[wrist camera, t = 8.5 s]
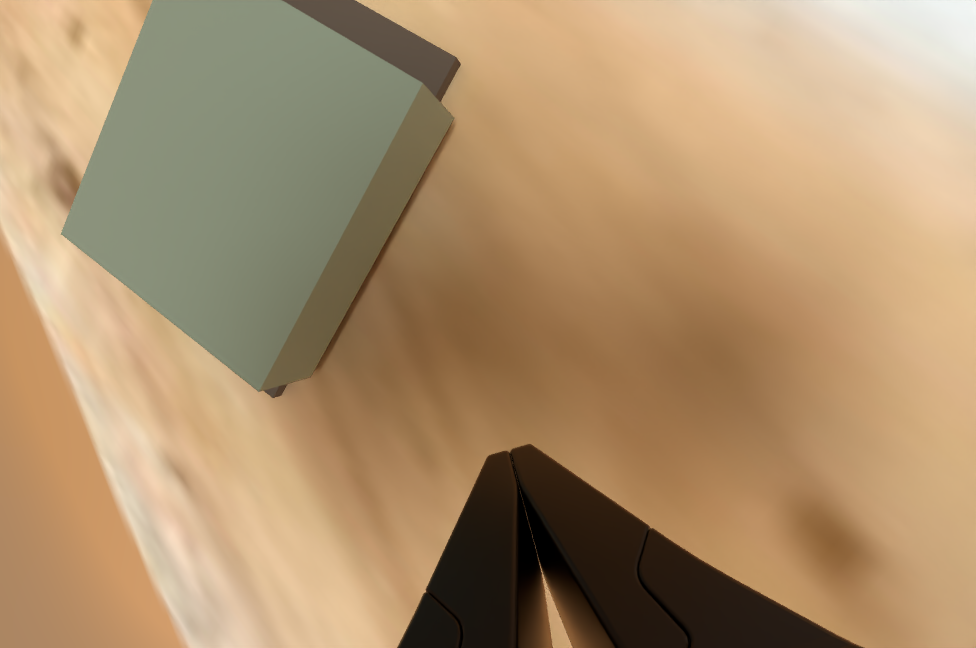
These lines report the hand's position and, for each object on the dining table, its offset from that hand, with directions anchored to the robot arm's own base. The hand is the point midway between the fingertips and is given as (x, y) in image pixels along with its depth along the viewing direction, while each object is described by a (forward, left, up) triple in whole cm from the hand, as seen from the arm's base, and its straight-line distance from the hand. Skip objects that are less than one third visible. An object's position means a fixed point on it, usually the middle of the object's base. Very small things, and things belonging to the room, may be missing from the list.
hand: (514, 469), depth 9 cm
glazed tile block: (+4, -8, -7) cm, 11 cm away
